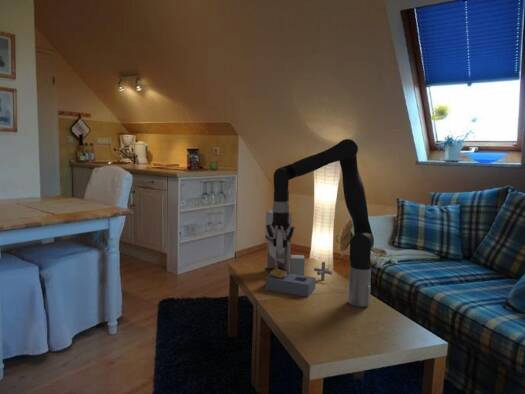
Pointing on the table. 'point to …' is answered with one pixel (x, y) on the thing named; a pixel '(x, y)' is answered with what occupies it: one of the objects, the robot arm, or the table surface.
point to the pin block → (291, 284)
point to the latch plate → (279, 273)
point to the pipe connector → (323, 271)
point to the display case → (271, 250)
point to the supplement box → (297, 264)
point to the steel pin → (279, 244)
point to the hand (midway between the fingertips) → (280, 246)
